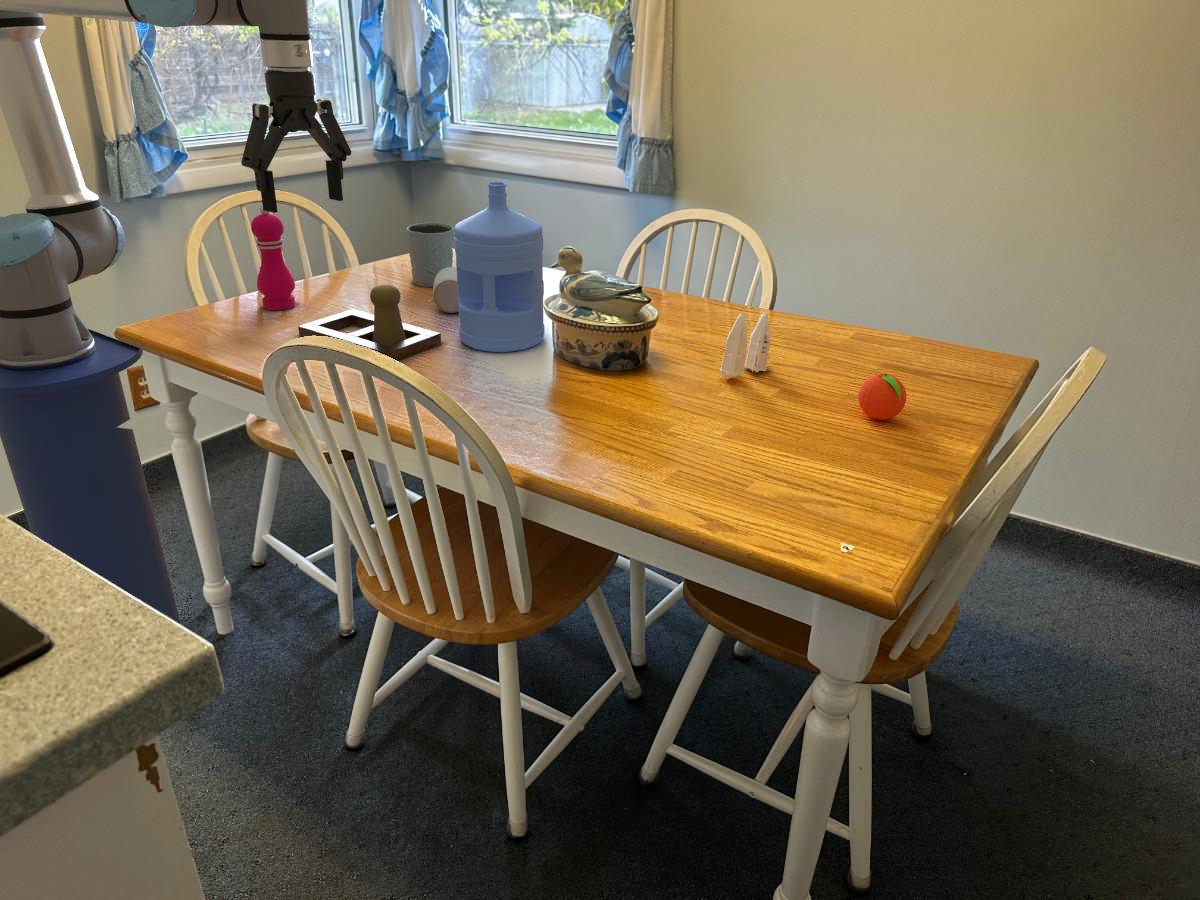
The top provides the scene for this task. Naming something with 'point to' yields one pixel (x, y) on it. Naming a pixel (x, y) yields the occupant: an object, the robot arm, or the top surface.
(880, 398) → the clementine
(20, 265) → the robot arm
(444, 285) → the ceramic mug
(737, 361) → the shaker set
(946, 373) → the top surface
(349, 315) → the holder
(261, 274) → the pepper mill
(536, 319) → the water jug
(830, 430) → the top surface
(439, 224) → the grey tapered cup
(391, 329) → the olive peg shaker
